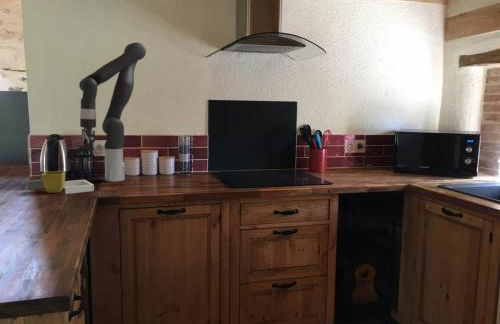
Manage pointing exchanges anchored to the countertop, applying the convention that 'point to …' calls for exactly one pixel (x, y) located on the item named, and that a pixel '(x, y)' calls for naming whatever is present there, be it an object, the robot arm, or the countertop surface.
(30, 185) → the tall gray bar
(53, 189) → the flower pot
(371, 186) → the countertop surface
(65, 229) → the countertop surface
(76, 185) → the white shallow tray
